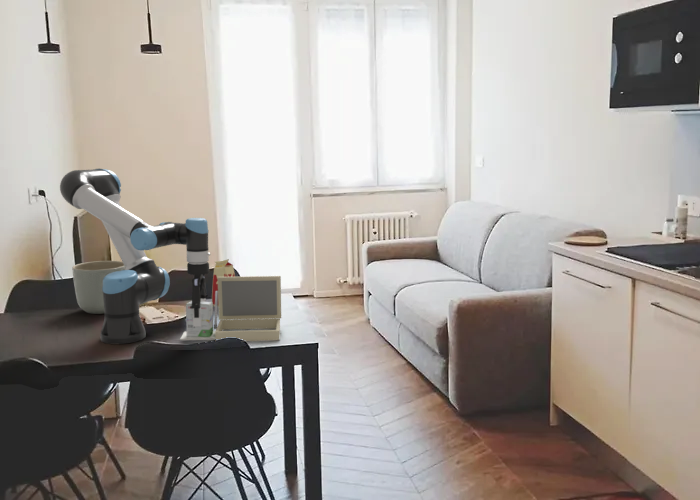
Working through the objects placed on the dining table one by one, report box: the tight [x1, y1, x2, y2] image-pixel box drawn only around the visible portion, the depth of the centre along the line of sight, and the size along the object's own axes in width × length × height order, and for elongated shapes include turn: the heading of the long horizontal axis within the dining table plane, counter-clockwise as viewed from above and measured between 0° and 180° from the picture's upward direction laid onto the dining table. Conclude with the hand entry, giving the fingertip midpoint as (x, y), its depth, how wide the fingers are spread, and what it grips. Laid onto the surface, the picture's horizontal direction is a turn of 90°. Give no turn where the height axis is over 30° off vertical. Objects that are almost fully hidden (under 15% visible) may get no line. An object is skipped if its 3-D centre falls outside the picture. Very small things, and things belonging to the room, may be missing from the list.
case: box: [213, 275, 282, 342], centre depth 240 cm, size 24×17×20 cm
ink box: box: [185, 300, 214, 337], centre depth 238 cm, size 9×5×12 cm, turn 85°
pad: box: [179, 330, 216, 341], centre depth 239 cm, size 13×9×1 cm
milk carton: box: [211, 258, 236, 308], centre depth 283 cm, size 9×9×20 cm
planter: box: [72, 260, 125, 315], centre depth 273 cm, size 21×21×19 cm
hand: (200, 321), depth 238 cm, fingers open, 13 cm apart
